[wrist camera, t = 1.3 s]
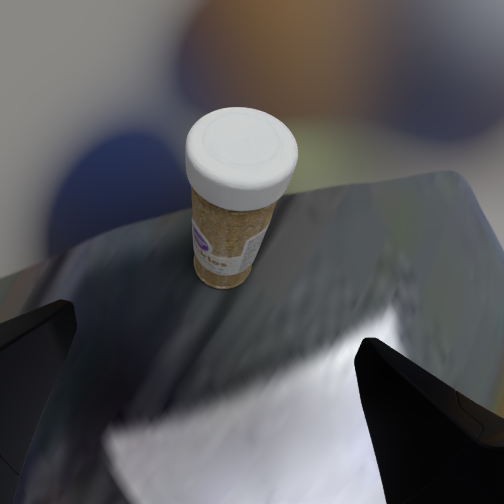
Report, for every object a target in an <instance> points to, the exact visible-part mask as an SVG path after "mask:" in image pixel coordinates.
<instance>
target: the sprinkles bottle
mask: <svg viewBox="0 0 504 504" xmlns="http://www.w3.org/2000/svg"><path fill="white" fill-rule="evenodd" d="M297 160H298V147H297V143H296V141H295V138H294V136H293V135H292V133H291V132H290V130H289V129H288V128H287V127H286V126H285V125H284V124H283V123H282V122H280V121H279V120H278V119H276V118H275V117H273V116H271V115H269V114H267V113H265V112H262V111H259V110H255V109H250V108H242V107H231V108H224V109H219V110H216V111H213V112H211V113H209V114H207V115H205V116H203V117H202V118H201V119H199V120H198V121H197V122H196V123H195V124H194V126H193V127H192V128H191V130H190V132H189V133H188V136H187V140H186V172H187V176H188V179H189V182H190V184H191V185H192V187H191V189H192V206H193V208H192V209H193V216H192V232H193V248H194V252H195V254H194V267H195V270H196V273H197V275H198V276H199V278H200V280H202V281H203V282H204V283H205V284H207V285H208V286H211V287H213V288H217V289H230V288H234V287H236V286H238V285H240V284H241V283H243V282H244V281H245V279H246V278H247V277H248V275H249V273H250V271H251V267H252V262H253V261H254V259H255V257H256V255H257V252H258V250H259V247H260V245H261V242H262V240H263V237H264V235H265V232H266V230H267V228H268V225H269V223H270V220H271V217H272V213H273V210H274V208H275V205H276V203H277V200H278V199H279V198H280V197H281V196H282V195H283V193H284V192H285V191H286V189H287V187H288V184H289V182H290V180H291V177H292V175H293V172H294V170H295V167H296V164H297Z"/></svg>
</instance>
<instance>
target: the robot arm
mask: <svg viewBox="0 0 504 504" xmlns="http://www.w3.org/2000/svg"><path fill="white" fill-rule="evenodd" d="M76 329H77V322H76V316H75V311H74V305H73V303H72V302H71V301H67V300H63V299H60V300H57V301H55V302H52V303H50V304H47V305H45V306H42V307H40V308H37V309H35V310H32V311H30V312H27V313H25V314H22V315H20V316H17V317H15V318H13V319H10V320H8V321H5V322H3V323H1V324H0V504H13V501H14V497H15V493H16V489H17V486H18V482H19V479H20V477H19V476H20V475H21V472H22V468H23V465H24V462H25V459H26V456H27V453H28V450H29V447H30V445H31V442H32V439H33V436H34V434H35V431H36V428H37V426H38V423H39V421H40V418H41V416H42V413H43V411H44V408H45V406H46V404H47V401H48V399H49V397H50V395H51V392H52V390H53V388H54V386H55V383H56V381H57V379H58V377H59V375H60V372H61V370H62V368H63V365H64V363H65V360H66V357H67V354H68V351H69V349H70V346H71V343H72V341H73V338H74V335H75V333H76ZM354 366H355V371H356V377H357V382H358V388H359V394H360V399H361V404H362V408H363V411H364V415H365V419H366V422H367V426H368V429H369V433H370V437H371V441H372V444H373V448H374V452H375V456H376V460H377V464H378V468H379V472H380V477H381V481H382V485H383V490H384V494H385V499H386V503H387V504H504V418H502V417H500V416H498V415H496V414H495V413H493V412H491V411H489V410H487V409H486V408H484V407H482V406H480V405H479V404H477V403H475V402H474V401H472V400H470V399H469V398H467V397H466V396H464V395H463V394H461V393H460V392H458V391H455V389H453V388H452V387H450V386H449V385H447V384H446V383H444V382H443V381H441V380H440V379H438V378H437V377H435V376H434V375H432V374H431V373H429V372H427V371H426V370H424V369H423V368H421V367H420V366H418V365H417V364H415V363H414V362H412V361H411V360H409V359H408V358H406V357H405V356H403V355H402V354H400V353H399V352H397V351H396V350H394V349H393V348H391V347H390V346H388V345H387V344H385V343H384V342H382V341H381V340H379V339H377V338H364V339H363V340H362V342H361V345H360V347H359V349H358V352H357V354H356V356H355V359H354Z"/></svg>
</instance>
